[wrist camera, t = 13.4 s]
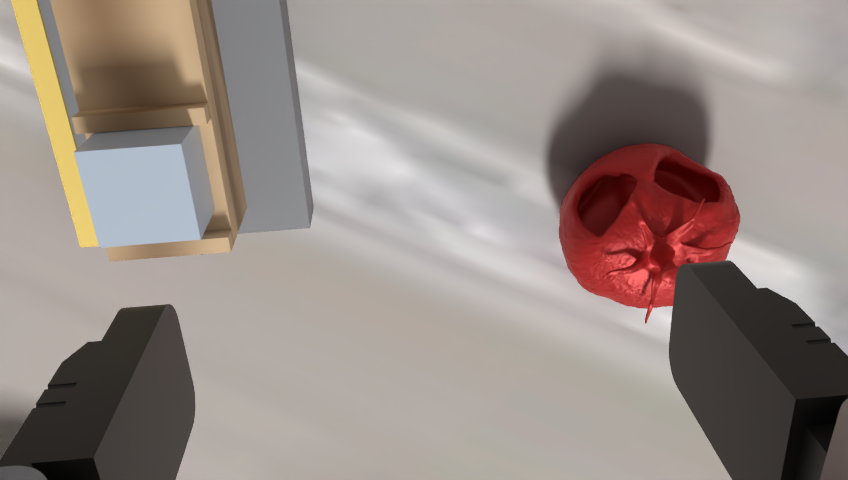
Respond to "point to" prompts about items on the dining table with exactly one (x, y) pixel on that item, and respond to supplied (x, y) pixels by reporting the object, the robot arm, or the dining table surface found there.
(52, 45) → the plate
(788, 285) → the dining table surface
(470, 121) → the dining table surface
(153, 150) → the pale blue block
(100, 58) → the long wooden trough
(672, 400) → the dining table surface
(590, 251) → the pomegranate
